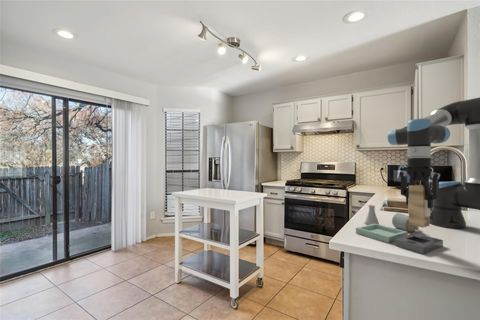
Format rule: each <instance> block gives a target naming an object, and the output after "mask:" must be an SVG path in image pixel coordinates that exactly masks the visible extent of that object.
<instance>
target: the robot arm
mask: <svg viewBox="0 0 480 320" xmlns="http://www.w3.org/2000/svg"><path fill="white" fill-rule="evenodd" d="M463 124H464V127H465V128H466V129H467V130H468V178H467V179H465V180H464V184H463V183H462V181H455V180H454V181H440V178H441V173H437V172H433V170H432V158H431V157H432V147H431V146H432V144H442V143H445V142H447V141H448V140H449V139H450V136H451V131H450V129H449V128H448V127H447V126H452V125H453V126H454V125H463ZM386 139H387V142H388V143H389V144H390V145H392V146H403V145H404V146H407V147H406V148H407V151H406V152H407V157H408V158H406V159H407V162H406V163H407V165H406V167H407V169H406V170H405V171H400V172H399V173H398V174H399V176H400V195H401V196H404V197H405V204H406V206H407V208H408V209H407V210H408V212H407V213H408V214H409V185H416V183H417V181H420V182H421V184H422V185H423V187H425V194H426V198H427V199H426V200H425V217H428V216H429V224H431V225H434V226H439V227H443V228H449V229H465V228H467V222H466V219H465V216H464V215H463V212H462V210H463V209H469V210H477V211H478V210H479V211H480V97H475V98H471V99H464V100H458V101H454V102H451V103H449V104H446V105H444V106H442V107H439V108H438V109H436V110H434V111H432V112H431V113H430V115H427V116H425V117H423V118H414V119H409V121H407V125H406V126H404V127H402V128H395V129H392V130H389V132H388V134H387V137H386ZM408 176H409V179H408ZM429 177H431V185H430V180H429ZM408 180H409V182H408ZM431 188H432V189H431ZM462 208H463V209H462Z"/></svg>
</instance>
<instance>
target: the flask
mask: <svg viewBox="0 0 480 320" xmlns="http://www.w3.org/2000/svg"><path fill="white" fill-rule="evenodd" d="M375 207H376V206H375V205H374V204H372V205H371V204H370V205H368V213H367V216H366V218H365V221H364V224H366V225H370V224H379V225H380V222H379V219H378V218H377V215H376V211H375V209H376V208H375Z"/></svg>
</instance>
